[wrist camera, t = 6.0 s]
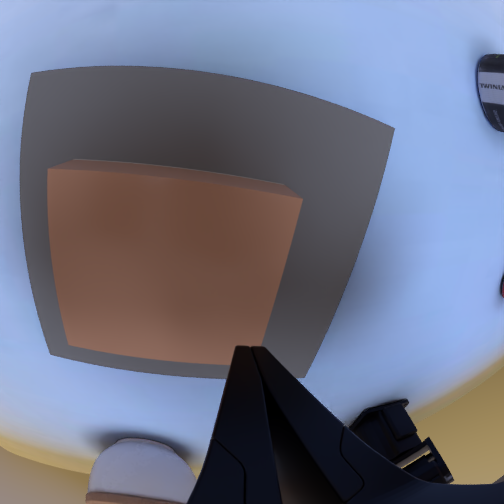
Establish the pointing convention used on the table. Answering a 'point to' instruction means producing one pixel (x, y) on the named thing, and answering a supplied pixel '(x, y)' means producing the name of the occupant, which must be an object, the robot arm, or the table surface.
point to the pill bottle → (492, 88)
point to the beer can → (503, 289)
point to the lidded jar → (140, 475)
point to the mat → (213, 160)
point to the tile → (166, 257)
